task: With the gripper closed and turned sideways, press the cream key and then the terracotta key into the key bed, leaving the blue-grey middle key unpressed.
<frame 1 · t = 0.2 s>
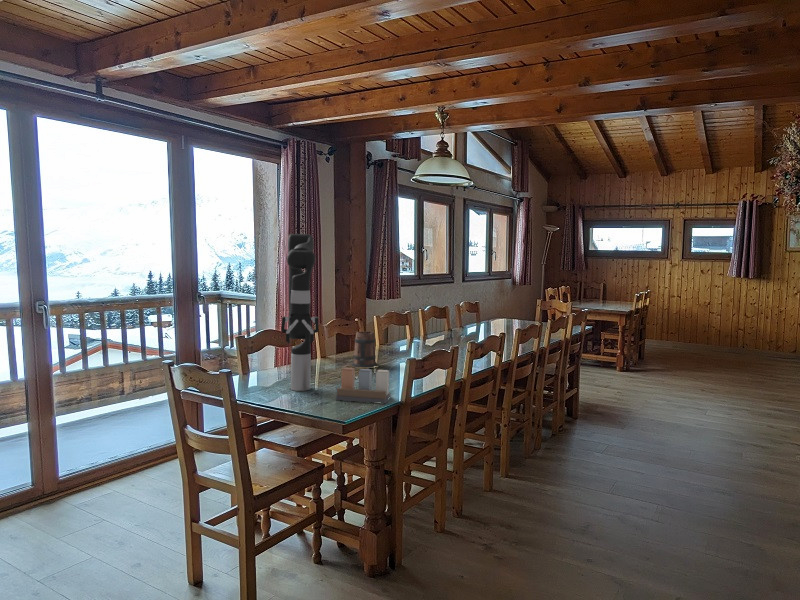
hand: (299, 343, 213), 29 cm above the table, tool pointing down, fingers open, 8 cm apart
tankard: (363, 367, 315), on the table
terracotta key: (348, 380, 247), point 8 cm above the table, slide at 0.0 cm
key bed: (364, 397, 246), on the table
cream key: (382, 382, 244), point 8 cm above the table, slide at 0.0 cm
blue-grey key: (365, 381, 245), point 8 cm above the table, slide at 0.0 cm
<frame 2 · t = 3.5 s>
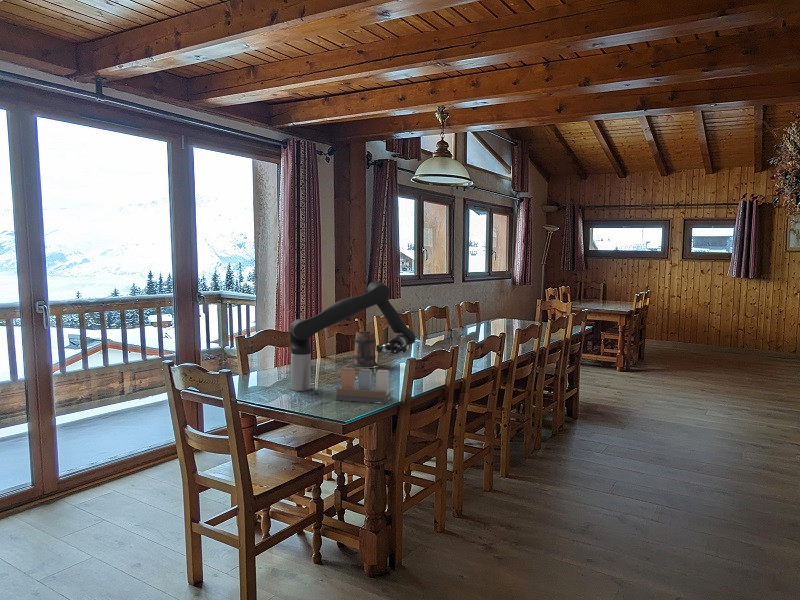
hand: (387, 350, 253), 20 cm above the table, tool horizontal, fingers open, 8 cm apart
nothing on the table moved.
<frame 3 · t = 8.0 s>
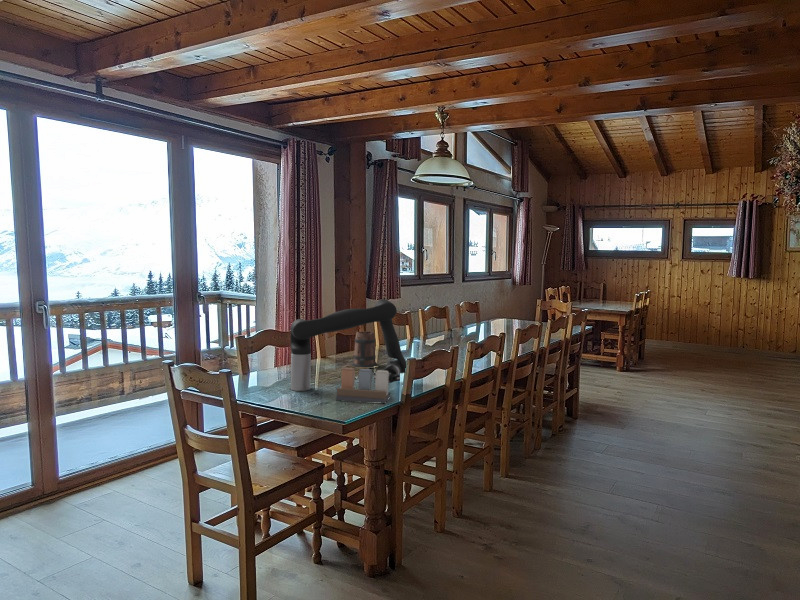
hand: (383, 381, 245), 8 cm above the table, tool horizontal, fingers closed
cream key: (382, 382, 243), point 8 cm above the table, slide at 1.0 cm, touching gripper
everything else where it was.
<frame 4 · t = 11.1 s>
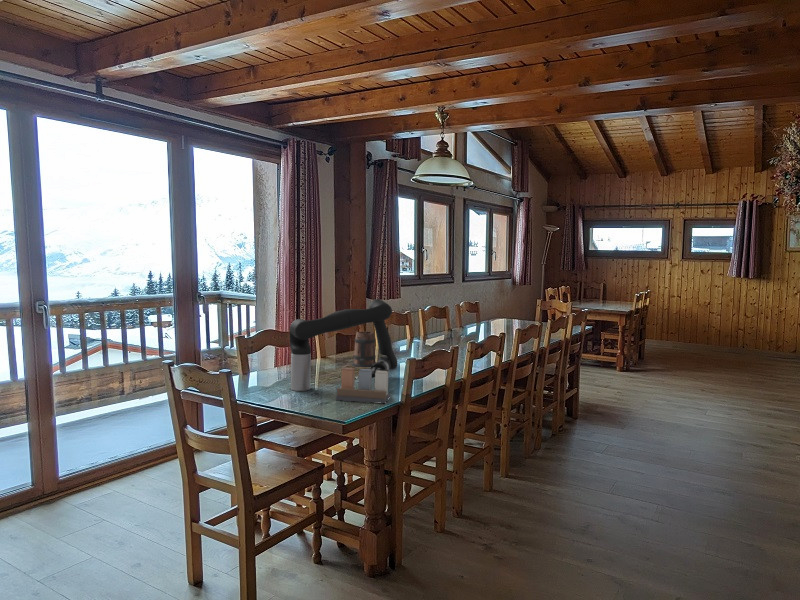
hand: (371, 375, 256), 8 cm above the table, tool horizontal, fingers closed
cream key: (381, 383, 242), point 8 cm above the table, slide at 1.9 cm
everything else where it was.
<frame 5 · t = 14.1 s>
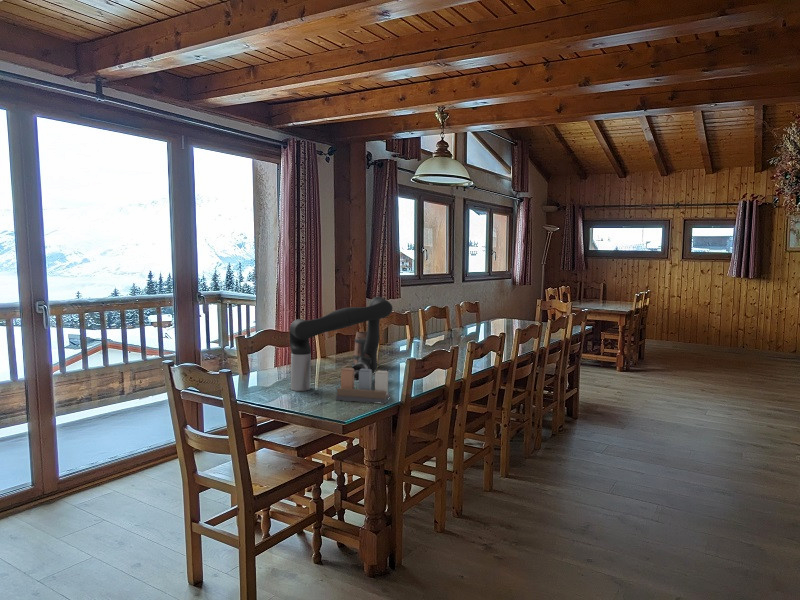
hand: (348, 378, 248), 8 cm above the table, tool horizontal, fingers closed
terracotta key: (347, 380, 246), point 8 cm above the table, slide at 0.7 cm, touching gripper
everything else where it was.
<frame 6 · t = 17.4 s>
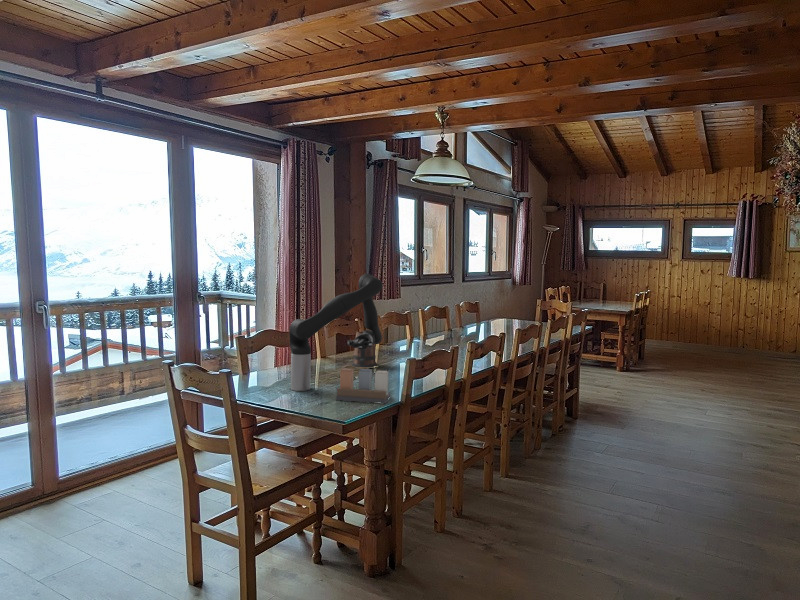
hand: (355, 345, 257), 22 cm above the table, tool horizontal, fingers closed
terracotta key: (346, 380, 245), point 8 cm above the table, slide at 1.9 cm
everything else where it was.
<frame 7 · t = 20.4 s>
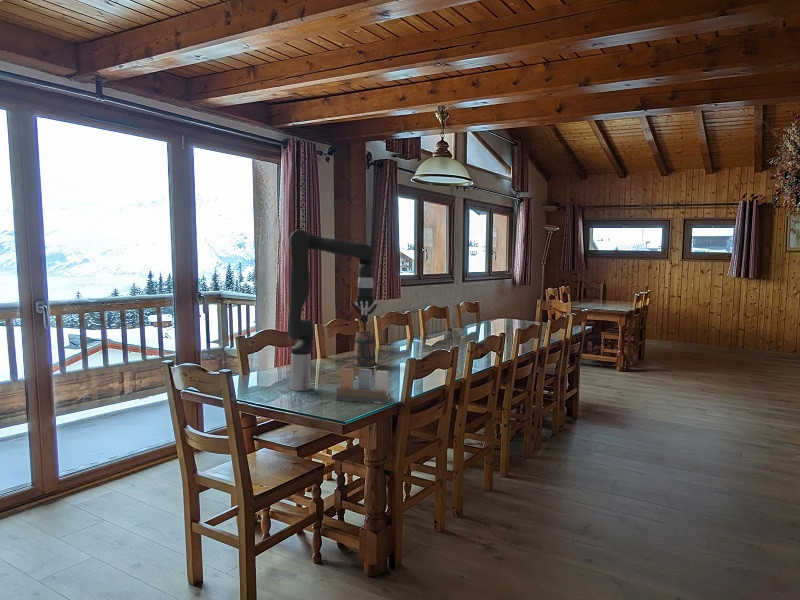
hand: (364, 322, 262), 32 cm above the table, tool pointing down, fingers closed
nothing on the table moved.
at the end: cream key slide at 1.9 cm; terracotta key slide at 1.9 cm; blue-grey key slide at 0.0 cm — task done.
